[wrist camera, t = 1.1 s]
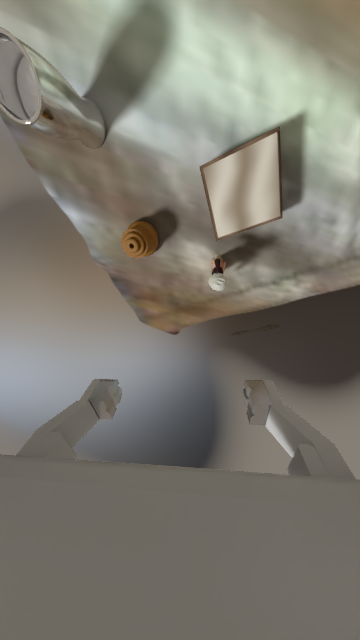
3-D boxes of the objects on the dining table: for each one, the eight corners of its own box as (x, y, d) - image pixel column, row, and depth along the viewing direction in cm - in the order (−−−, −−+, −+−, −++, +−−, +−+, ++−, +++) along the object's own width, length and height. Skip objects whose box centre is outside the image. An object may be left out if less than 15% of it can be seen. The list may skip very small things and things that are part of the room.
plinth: (271, 135, 28) (281, 125, 24) (275, 215, 34) (283, 218, 30) (200, 169, 32) (199, 166, 28) (215, 236, 38) (216, 241, 34)
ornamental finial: (165, 247, 41) (140, 259, 44) (149, 213, 37) (123, 229, 40) (156, 256, 35) (127, 269, 37) (136, 217, 31) (106, 235, 34)
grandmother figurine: (227, 276, 43) (232, 301, 33) (212, 279, 44) (212, 304, 34) (223, 245, 39) (227, 262, 29) (206, 249, 40) (204, 267, 30)
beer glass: (110, 107, 29) (39, 45, 17) (105, 159, 33) (45, 139, 21) (70, 85, 28) (-35, 2, 16) (70, 141, 32) (-14, 108, 20)
